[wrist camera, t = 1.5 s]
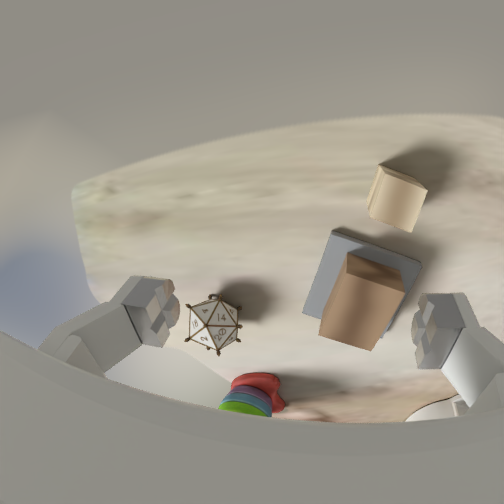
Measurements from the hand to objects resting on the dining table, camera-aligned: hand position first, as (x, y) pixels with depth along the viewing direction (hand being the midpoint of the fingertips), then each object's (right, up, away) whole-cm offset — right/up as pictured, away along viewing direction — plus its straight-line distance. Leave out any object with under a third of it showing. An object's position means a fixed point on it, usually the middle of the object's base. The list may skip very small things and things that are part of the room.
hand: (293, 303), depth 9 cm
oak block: (+14, +9, +21) cm, 27 cm away
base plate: (+13, -3, +27) cm, 30 cm away
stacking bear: (0, -24, +42) cm, 49 cm away
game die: (-5, -7, +35) cm, 37 cm away
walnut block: (+12, -3, +26) cm, 29 cm away
